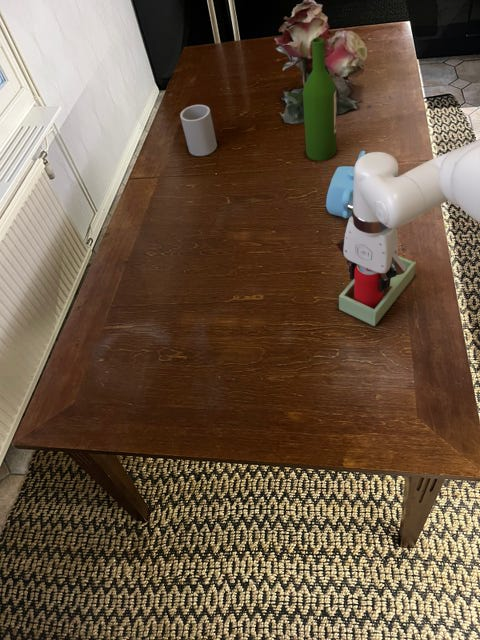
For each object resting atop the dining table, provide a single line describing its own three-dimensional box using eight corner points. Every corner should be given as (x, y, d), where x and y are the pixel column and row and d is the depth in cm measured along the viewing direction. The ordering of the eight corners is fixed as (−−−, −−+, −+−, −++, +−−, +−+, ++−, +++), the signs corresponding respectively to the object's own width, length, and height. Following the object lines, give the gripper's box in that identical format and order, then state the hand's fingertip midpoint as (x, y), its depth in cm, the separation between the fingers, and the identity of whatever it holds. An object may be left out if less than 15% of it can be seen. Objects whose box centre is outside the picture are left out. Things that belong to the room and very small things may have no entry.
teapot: (384, 186, 144) (387, 149, 135) (368, 230, 134) (370, 193, 125) (339, 181, 148) (339, 145, 139) (321, 223, 138) (320, 187, 129)
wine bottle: (339, 157, 155) (340, 43, 130) (309, 163, 155) (304, 51, 130) (332, 141, 161) (331, 29, 136) (303, 147, 161) (296, 36, 136)
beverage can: (382, 292, 119) (385, 254, 110) (382, 313, 116) (385, 276, 106) (354, 291, 121) (355, 254, 112) (353, 312, 117) (354, 275, 108)
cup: (186, 143, 171) (178, 109, 162) (213, 136, 172) (206, 101, 162) (191, 158, 165) (182, 124, 156) (219, 151, 166) (212, 116, 157)
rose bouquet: (373, 107, 169) (378, 5, 146) (285, 128, 169) (276, 30, 146) (348, 71, 185) (349, -25, 162) (267, 90, 185) (257, -3, 162)
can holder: (413, 276, 122) (416, 262, 119) (374, 326, 115) (375, 313, 111) (378, 262, 127) (379, 248, 123) (338, 309, 119) (338, 295, 116)
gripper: (323, 213, 102) (325, 277, 116) (405, 244, 93) (396, 309, 107) (344, 191, 105) (343, 256, 119) (425, 220, 97) (415, 286, 110)
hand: (369, 281), depth 113 cm, fingers closed on beverage can, 6 cm apart
